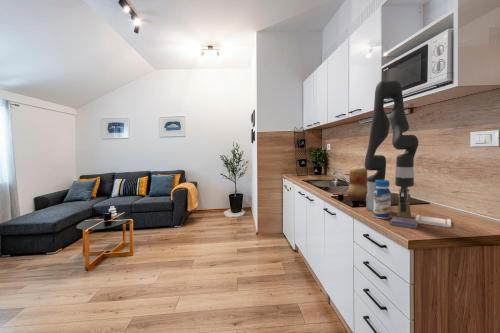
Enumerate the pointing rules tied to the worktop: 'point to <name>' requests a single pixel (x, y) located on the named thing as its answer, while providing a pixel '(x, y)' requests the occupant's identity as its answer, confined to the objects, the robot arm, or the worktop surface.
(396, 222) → the ink pad
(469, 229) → the worktop surface
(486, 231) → the worktop surface
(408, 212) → the olive rounded piece
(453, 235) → the worktop surface
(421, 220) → the marked board
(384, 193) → the beverage bottle
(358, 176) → the butternut squash
